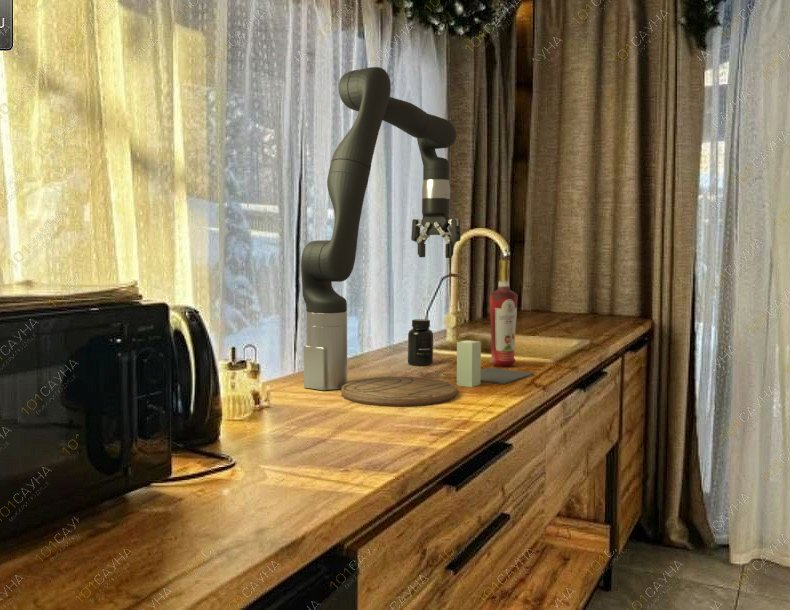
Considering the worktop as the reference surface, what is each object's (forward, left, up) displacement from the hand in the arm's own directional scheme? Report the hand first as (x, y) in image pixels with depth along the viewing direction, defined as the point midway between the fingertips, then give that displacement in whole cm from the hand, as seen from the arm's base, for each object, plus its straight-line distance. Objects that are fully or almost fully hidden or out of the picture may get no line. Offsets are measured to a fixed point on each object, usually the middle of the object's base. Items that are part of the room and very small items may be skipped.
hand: (435, 257), depth 205 cm
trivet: (-41, -17, -29) cm, 53 cm away
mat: (-10, -24, -29) cm, 39 cm away
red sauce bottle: (+5, -18, -29) cm, 34 cm away
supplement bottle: (-6, +1, -29) cm, 29 cm away
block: (-23, -24, -29) cm, 44 cm away
